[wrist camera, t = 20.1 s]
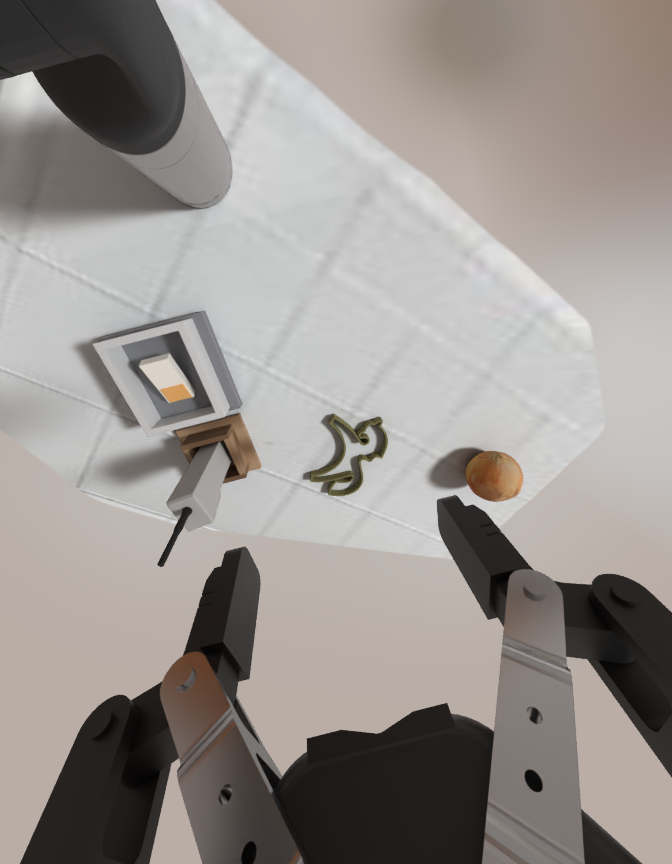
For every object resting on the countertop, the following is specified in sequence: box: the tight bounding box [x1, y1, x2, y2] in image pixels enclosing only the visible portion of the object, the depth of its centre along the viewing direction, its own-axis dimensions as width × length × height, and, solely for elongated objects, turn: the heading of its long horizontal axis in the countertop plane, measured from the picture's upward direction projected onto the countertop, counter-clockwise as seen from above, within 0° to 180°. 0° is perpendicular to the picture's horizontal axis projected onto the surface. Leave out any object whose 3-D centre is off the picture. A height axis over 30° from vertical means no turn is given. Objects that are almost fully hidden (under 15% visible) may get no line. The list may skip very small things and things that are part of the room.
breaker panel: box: [93, 311, 242, 437], centre depth 44 cm, size 15×15×6 cm
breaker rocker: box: [139, 353, 195, 403], centre depth 43 cm, size 7×4×2 cm, turn 13°
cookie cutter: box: [310, 414, 388, 496], centre depth 57 cm, size 18×12×2 cm, turn 161°
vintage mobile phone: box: [158, 440, 233, 567], centre depth 41 cm, size 4×5×25 cm
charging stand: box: [176, 413, 261, 484], centre depth 51 cm, size 11×11×5 cm
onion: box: [465, 451, 523, 502], centre depth 57 cm, size 10×10×10 cm
